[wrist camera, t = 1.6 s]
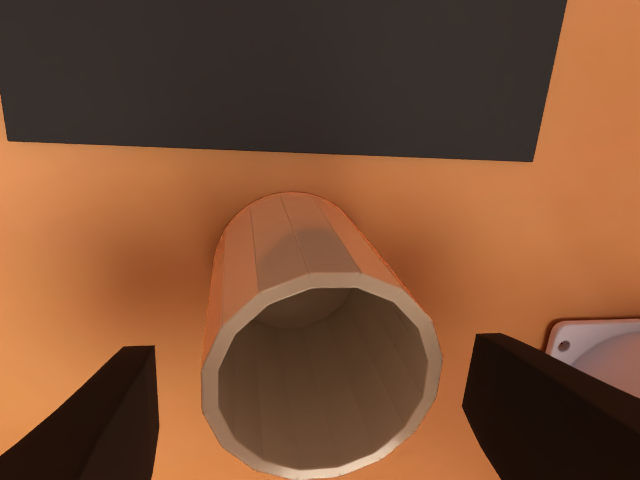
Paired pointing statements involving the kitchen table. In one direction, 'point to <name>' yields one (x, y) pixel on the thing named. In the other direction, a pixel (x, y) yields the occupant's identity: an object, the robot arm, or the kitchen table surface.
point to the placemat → (282, 75)
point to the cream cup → (311, 343)
